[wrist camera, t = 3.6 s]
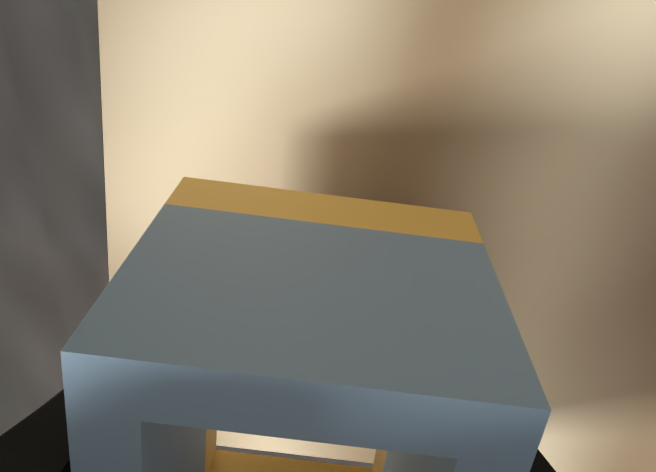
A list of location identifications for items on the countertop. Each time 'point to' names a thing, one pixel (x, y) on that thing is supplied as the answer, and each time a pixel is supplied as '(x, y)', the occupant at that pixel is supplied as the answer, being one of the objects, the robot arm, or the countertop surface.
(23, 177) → the countertop surface
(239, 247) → the sleeve
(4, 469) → the robot arm
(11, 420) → the countertop surface
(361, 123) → the board
